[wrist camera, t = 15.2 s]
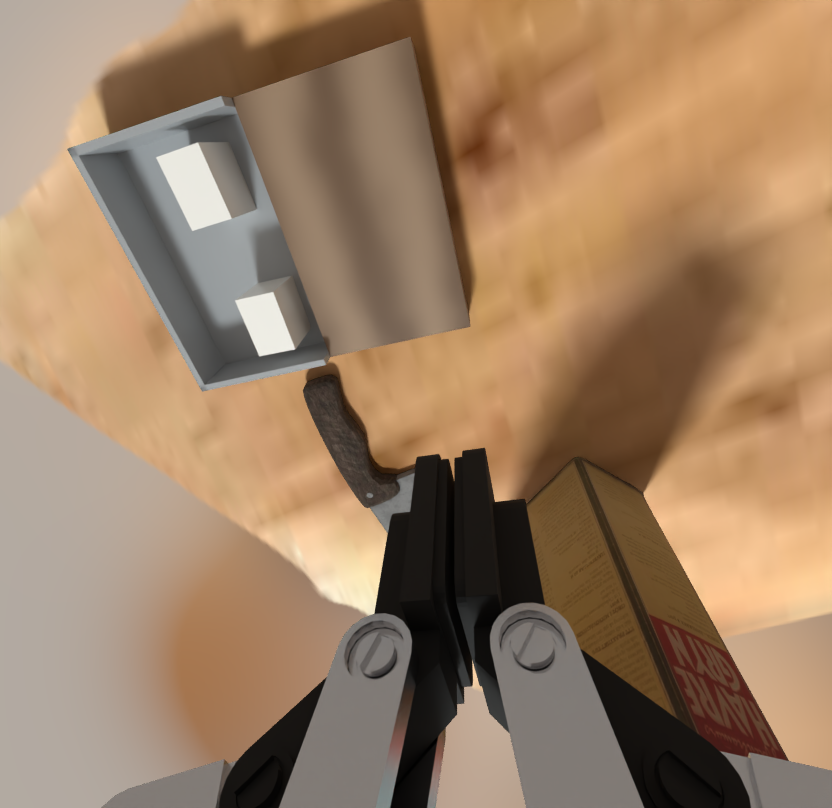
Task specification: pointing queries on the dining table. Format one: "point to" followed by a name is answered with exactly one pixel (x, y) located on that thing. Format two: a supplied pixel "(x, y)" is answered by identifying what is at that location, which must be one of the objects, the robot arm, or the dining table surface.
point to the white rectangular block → (207, 183)
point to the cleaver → (356, 453)
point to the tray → (197, 244)
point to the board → (360, 197)
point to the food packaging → (640, 606)
